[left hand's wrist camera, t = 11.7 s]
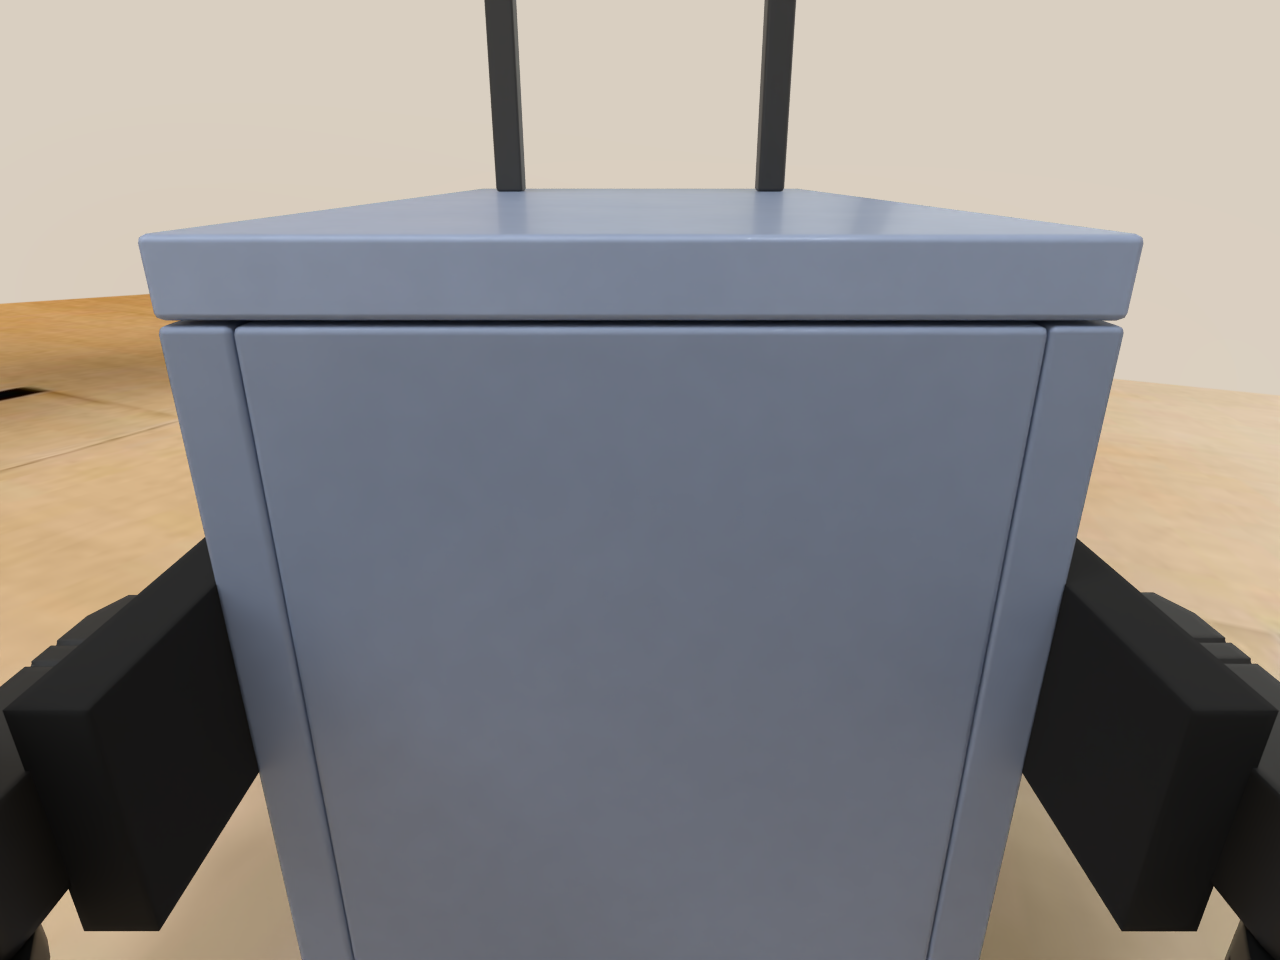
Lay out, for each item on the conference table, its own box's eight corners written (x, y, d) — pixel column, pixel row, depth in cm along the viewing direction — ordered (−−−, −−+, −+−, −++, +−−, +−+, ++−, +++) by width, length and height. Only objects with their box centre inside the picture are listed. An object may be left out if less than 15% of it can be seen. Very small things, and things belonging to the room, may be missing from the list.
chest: (504, 548, 28) (480, 219, 24) (775, 548, 28) (799, 219, 24) (322, 1059, 12) (153, 327, 8) (958, 1059, 12) (1127, 327, 8)
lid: (482, 217, 24) (460, -109, 21) (797, 217, 24) (820, -109, 21) (151, 321, 8) (-171, -1077, 5) (1129, 321, 8) (1453, -1079, 5)
